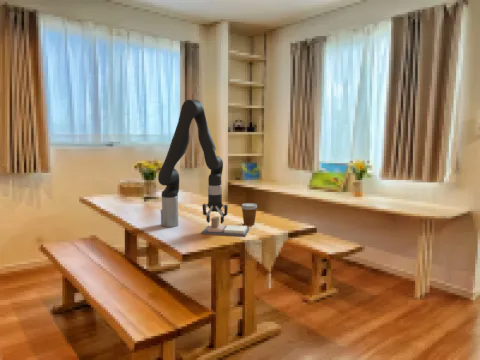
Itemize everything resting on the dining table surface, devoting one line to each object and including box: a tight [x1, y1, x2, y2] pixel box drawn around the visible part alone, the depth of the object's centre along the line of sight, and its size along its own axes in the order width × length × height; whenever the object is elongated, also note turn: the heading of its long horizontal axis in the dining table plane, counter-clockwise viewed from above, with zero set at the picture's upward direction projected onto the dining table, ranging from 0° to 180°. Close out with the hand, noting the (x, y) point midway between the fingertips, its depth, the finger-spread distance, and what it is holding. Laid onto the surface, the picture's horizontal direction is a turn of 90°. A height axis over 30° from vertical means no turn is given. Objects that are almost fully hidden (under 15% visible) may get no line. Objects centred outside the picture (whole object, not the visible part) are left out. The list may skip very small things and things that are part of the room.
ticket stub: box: [208, 216, 227, 232], centre depth 194 cm, size 8×10×6 cm
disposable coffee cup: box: [241, 202, 258, 227], centre depth 208 cm, size 10×10×12 cm
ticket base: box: [200, 224, 250, 237], centre depth 193 cm, size 24×13×2 cm, turn 79°
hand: (215, 222), depth 194 cm, fingers open, 7 cm apart
